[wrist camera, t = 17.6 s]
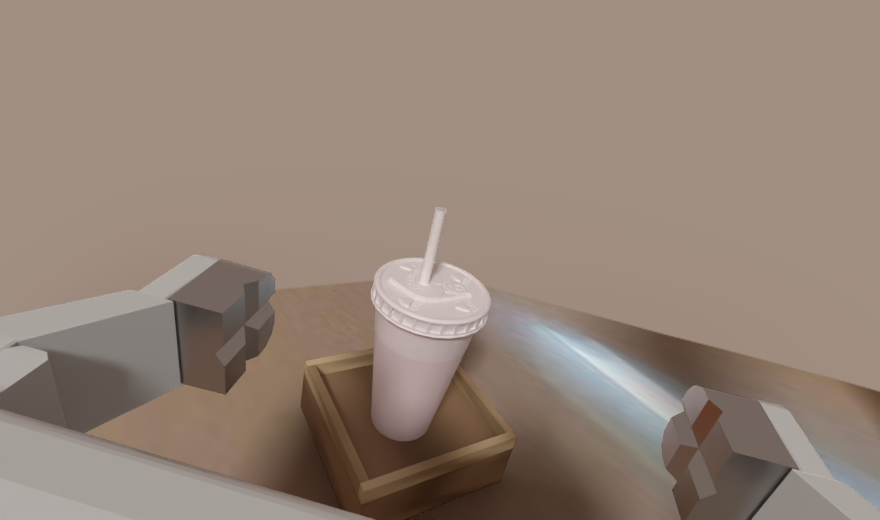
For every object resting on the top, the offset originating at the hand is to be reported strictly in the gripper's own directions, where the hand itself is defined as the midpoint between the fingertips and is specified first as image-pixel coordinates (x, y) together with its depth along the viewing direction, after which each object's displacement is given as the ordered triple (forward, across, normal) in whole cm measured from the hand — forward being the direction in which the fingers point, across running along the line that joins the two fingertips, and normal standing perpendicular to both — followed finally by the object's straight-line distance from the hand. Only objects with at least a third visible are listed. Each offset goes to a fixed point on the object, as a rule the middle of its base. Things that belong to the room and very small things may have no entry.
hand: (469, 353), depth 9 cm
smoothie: (+14, +2, +17) cm, 22 cm away
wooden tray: (+14, +2, +20) cm, 25 cm away
